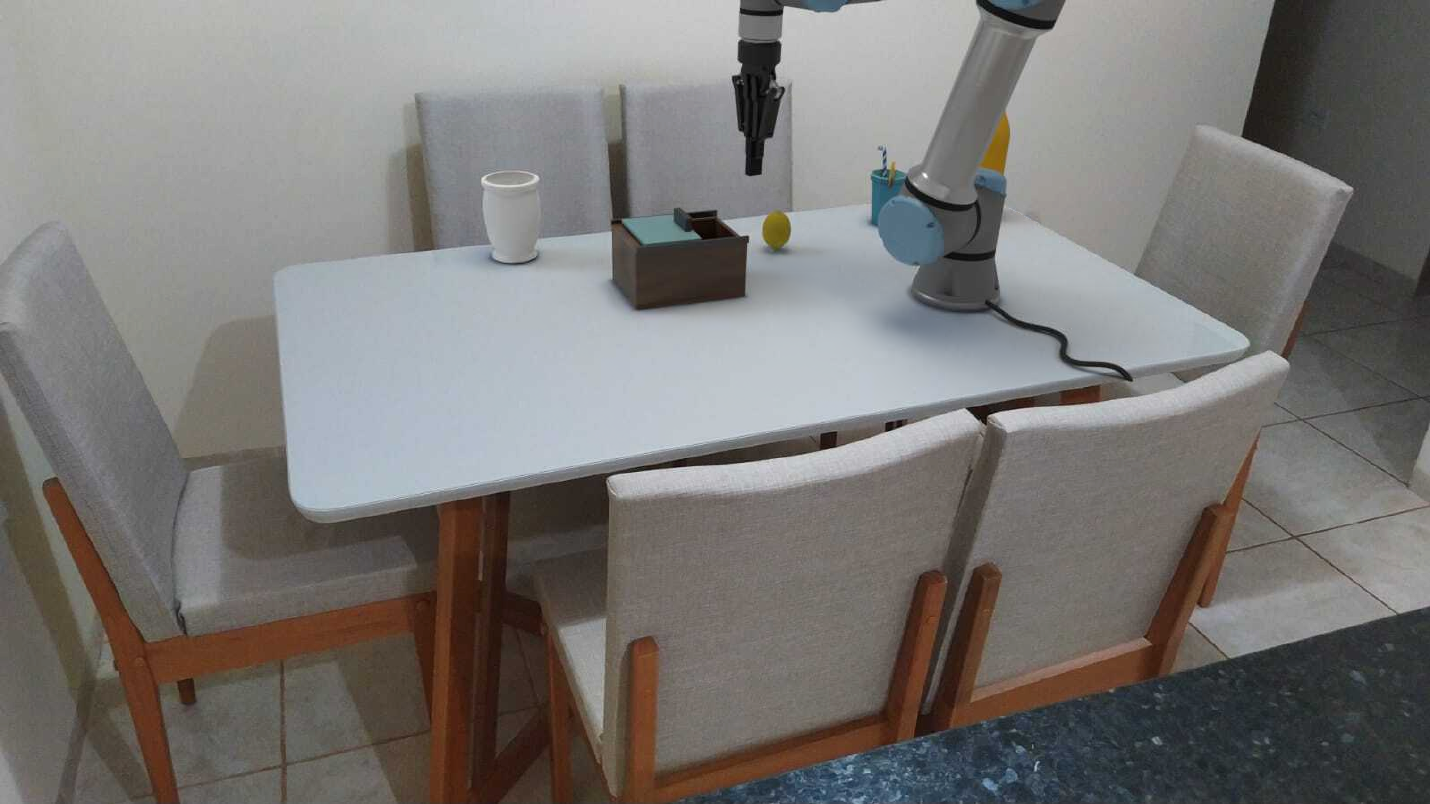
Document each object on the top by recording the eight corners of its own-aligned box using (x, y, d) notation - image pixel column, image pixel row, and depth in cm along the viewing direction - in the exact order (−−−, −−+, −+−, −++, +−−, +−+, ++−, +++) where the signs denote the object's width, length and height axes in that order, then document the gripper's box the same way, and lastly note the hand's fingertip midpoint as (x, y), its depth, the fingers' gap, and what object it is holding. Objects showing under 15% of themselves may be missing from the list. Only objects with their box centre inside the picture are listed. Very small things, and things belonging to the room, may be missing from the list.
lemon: (774, 256, 202) (777, 216, 198) (755, 248, 205) (757, 209, 202) (795, 251, 205) (798, 211, 201) (776, 243, 208) (778, 204, 205)
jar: (512, 243, 204) (507, 167, 197) (554, 253, 199) (550, 176, 192) (474, 258, 196) (468, 179, 189) (517, 270, 191) (512, 190, 184)
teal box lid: (701, 241, 176) (702, 224, 175) (645, 247, 173) (645, 229, 171) (675, 217, 187) (675, 201, 185) (621, 222, 183) (621, 205, 182)
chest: (746, 297, 183) (749, 236, 178) (637, 311, 176) (637, 248, 171) (714, 267, 196) (716, 209, 190) (611, 279, 189) (610, 219, 183)
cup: (855, 212, 228) (861, 143, 220) (889, 211, 229) (896, 142, 222) (874, 233, 215) (882, 161, 208) (910, 232, 217) (919, 160, 210)
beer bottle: (975, 206, 234) (996, 73, 220) (1005, 218, 227) (1029, 81, 213) (944, 212, 229) (963, 76, 215) (974, 224, 222) (996, 85, 209)
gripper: (800, 44, 177) (791, 180, 188) (755, 32, 186) (749, 163, 198) (764, 47, 173) (757, 186, 184) (720, 35, 183) (716, 168, 194)
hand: (753, 174), depth 191 cm, fingers closed
